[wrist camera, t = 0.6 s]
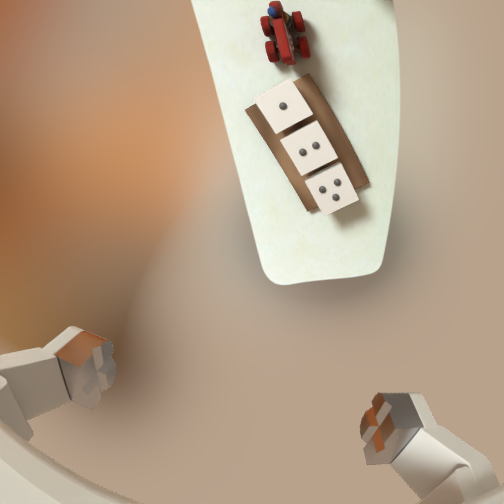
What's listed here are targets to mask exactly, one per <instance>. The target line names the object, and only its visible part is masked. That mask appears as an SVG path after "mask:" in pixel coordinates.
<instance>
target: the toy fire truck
mask: <svg viewBox="0 0 504 504" xmlns="http://www.w3.org/2000/svg"><path fill="white" fill-rule="evenodd" d="M268 14H269V15H270V16H264V17H261V19H260V21H261V26H262V30H263V32H264V35H265V36H266V37H268V36H273V35H274V31H275V35H276V39H277V43H278V47H279V48H277V47H276V44H275V42H274V41H267V42H266V43H265V48H266V52H267V56H268V59H269V61H270V62H278V61H279V54H278V53H280V56H281V60H282V62H283V63H286V64H287V65H294V64H296V59H295V54H294V53H295V51H300V54H301V57H302V58H310V51H309V46H308V42H307V39H306V37H305V36H302V37H298V38H297V41H298V46H293V42H292V38H291V35H290V33H289V30H288V29H296V32H304V31H305V27H304V22H303V18H302V15H301V12H300V11H297V12H292V16H289V15H288V14H287V13H286V12H284V10H283V7H282V5H281V3H280V1H272V2H270V3H269V8H268ZM273 28H274V29H273Z"/></svg>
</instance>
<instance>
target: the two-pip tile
mask: <svg viewBox="0 0 504 504" xmlns="http://www.w3.org/2000/svg"><path fill="white" fill-rule="evenodd" d="M280 141H281V143H282V145H283V146H284V148H285V149H286V151H287V153H288V154H289V156H290V158H291V159H292V161H293V163H294V164H295V166H296V168H297V169H298V171H299V173H300V175H301V176H303V175H305V174H306V173H308V172H310V171H312V170H314V169H316V168H318V167H320V166H322V165H324V164H326V163H329V162H331V161H333V160H335V159H337V158H338V157H337V155H336V153H335V151H334V149H333V147H332V145H331V144H330V142H329V140H328V138H327V137H326V135H325V133H324V131H323V130H322V128H321V126H320V124H319V123H318V121H317V120H316V121H314V122H312V123H310V124H308V125H306V126H304V127H302V128H300V129H298V130H297V131H295V132H293V133H291V134H289V135H287V136H285V137H284V138H282V139H281V140H280Z"/></svg>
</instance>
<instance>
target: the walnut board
mask: <svg viewBox="0 0 504 504" xmlns="http://www.w3.org/2000/svg"><path fill="white" fill-rule="evenodd" d="M293 83H294V84H295V86H296V87H297V89H298V91H299V92H300V94H301V95H302V97H303V98H304V100H305V101H306V103H307V105H308V106H309V108H310V109H311V111H312V113H313V114H312V115H311V116H309V117H307V118H305V119H303V120H301V121H299V122H297V123H295V124H293V125H292V126H290V127H288V128H286V129H284V130H283V131H281V132H279V133H277V134H276V133H275V132H274V130H273V129H272V127H271V126H270V124H269V122H268V121H267V119H266V118H265V116H264V115H263V113H262V112H261V110H260V109H259V107H258V106H257V104H256V103H255V104H254V105H252V106H250V107H249V108H247V109H246V110H245V111H246V113H247V114H248V116H249V117H250V119H251V120H252V122H253V123H254V125H255V126H256V128H257V129H258V131H259V133H260V134H261V136H262V137H263V139H264V140H265V142H266V143H267V145H268V147H269V148H270V150H271V151H272V153H273V155H274V156H275V158H276V159H277V161H278V163H279V164H280V166H281V167H282V169H283V171H284V172H285V174H286V176H287V177H288V179H289V181H290V182H291V184H292V186H293V187H294V189H295V191H296V193H297V194H298V196H299V198H300V199H301V201H302V203H303V205H304V206H305V208H306V210H307V212H308V211H310V210H312V209H314V208H316V207H318V205H317V203H316V201H315V199H314V197H313V196H312V194H311V192H310V190H309V188H308V187H307V185H306V183H305V180H306V178H307V177H309V176H311V175H313V174H315V173H317V172H319V171H321V170H323V169H325V168H327V167H329V166H331V165H333V164H335V163H337V162H339V161H340V163H341V164H342V166H343V168H344V170H345V172H346V174H347V176H348V178H349V180H350V182H351V184H352V186H353V188H354V189H357V188H359V187H361V186H363V185H365V184H367V183H369V181H368V179H367V176H366V174H365V172H364V170H363V168H362V166H361V164H360V162H359V160H358V158H357V156H356V154H355V152H354V150H353V148H352V146H351V144H350V142H349V140H348V139H347V137H346V135H345V133H344V131H343V129H342V127H341V126H340V124H339V122H338V120H337V119H336V117H335V115H334V113H333V112H332V110H331V108H330V107H329V105H328V103H327V102H326V100H325V98H324V97H323V95H322V93H321V92H320V90H319V89H318V87H317V86H316V84H315V82H314V81H313V79H312V78H311V76H310V75H309V74H308V75H306V76H304V77H302V78H300V79H298V80H296V81H294V82H293ZM316 120H317V121H318V123H319V124H320V126H321V128H322V130H323V131H324V133H325V135H326V137H327V138H328V140H329V142H330V144H331V145H332V147H333V149H334V151H335V153H336V155H337V157H338V158H337V159H335V160H333V161H331V162H329V163H326V164H324V165H322V166H320V167H318V168H316V169H314V170H312V171H310V172H308V173H306V174H305V175H303V176H301V175H300V173H299V171H298V169H297V168H296V166H295V164H294V163H293V161H292V159H291V158H290V156H289V154H288V153H287V151H286V149H285V148H284V146H283V145H282V143H281V141H280V140H281V139H282V138H284V137H285V136H287V135H289V134H291V133H293V132H295V131H297V130H298V129H300V128H302V127H304V126H306V125H308V124H310V123H312V122H314V121H316Z"/></svg>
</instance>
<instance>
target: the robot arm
mask: <svg viewBox="0 0 504 504" xmlns="http://www.w3.org/2000/svg"><path fill="white" fill-rule="evenodd" d="M113 352H114V351H113V345H112V343H111V342H110V341H109V340H106V339H104V338H102V337H99V336H97V335H94V334H92V333H89V332H87V331H84V330H82V329H80V328H77V327H75V326H70V327H68V328H67V329H66V330H65V331H63V332H62V333H61V334H60V335H58V336H57V337H56V338H55V339H53V340H52V341H51V342H50V343H49V344H47V345H46V346H45V347H44V348H43V349H41V348H39V347H38V348H33V349H28V350H24V351H19V352H13V353H8V354H4V355H0V504H142V503H139V502H137V501H134V500H132V499H129V498H127V497H124V496H122V495H120V494H117V493H115V492H113V491H111V490H108V489H106V488H104V487H102V486H100V485H98V484H96V483H94V482H92V481H90V480H88V479H86V478H84V477H83V476H81V475H79V474H77V473H75V472H74V471H72V470H70V469H69V468H67V467H65V466H63V465H62V464H60V463H59V462H57V461H55V460H54V459H52V458H51V457H49V456H48V455H46V454H45V453H43V452H42V451H40V450H39V449H37V448H36V447H35V446H33V445H32V444H31V443H29V442H28V441H29V440H30V439H31V438H32V436H33V430H32V429H31V427H30V425H29V423H28V422H27V420H29V419H32V418H34V417H36V416H39V415H41V414H43V413H45V412H48V411H50V410H52V409H55V408H57V407H60V406H62V405H64V404H66V403H69V402H70V400H71V401H73V402H75V403H77V404H79V405H82V406H84V407H86V408H88V409H90V410H93V409H94V407H95V406H96V404H97V403H98V402H99V401H100V399H101V398H102V394H101V391H103V390H106V389H109V387H110V386H111V385H112V383H113V381H114V378H115V373H116V365H115V362H114V360H113V359H112V357H111V356H110V355H111V354H112V353H113ZM372 405H373V407H372V408H370V409H369V410H367V411H366V412H365V414H364V416H363V418H362V420H361V424H360V434H361V438H362V439H363V440H364V441H365V442H366V443H367V444H366V446H365V447H364V453H365V458H366V463H367V465H376V464H390V465H391V466H392V467H393V469H394V470H395V471H396V472H397V473H398V474H399V475H400V476H401V477H402V479H403V480H404V481H405V482H406V483H407V484H408V485H409V487H410V488H411V489H412V490H413V491H414V492H415V493H416V494H417V495H418V496H419V498H420V499H421V500H420V501H419V502H418V503H416V504H504V484H502V485H500V484H499V482H498V479H497V477H496V475H495V473H494V471H493V468H492V466H491V464H490V462H489V460H488V458H487V457H485V456H484V455H482V454H481V453H479V452H478V451H477V450H475V449H474V448H472V447H471V446H469V445H468V444H467V443H465V442H463V441H462V440H461V439H459V438H458V437H457V436H455V435H453V434H452V433H451V432H450V431H448V430H447V429H445V428H444V427H442V426H437V424H436V422H435V420H434V417H433V415H432V414H431V411H430V409H429V407H428V405H427V403H426V401H425V399H424V398H423V396H422V394H421V393H419V392H408V393H378V394H377V395H376V396H374V398H373V400H372Z"/></svg>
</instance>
